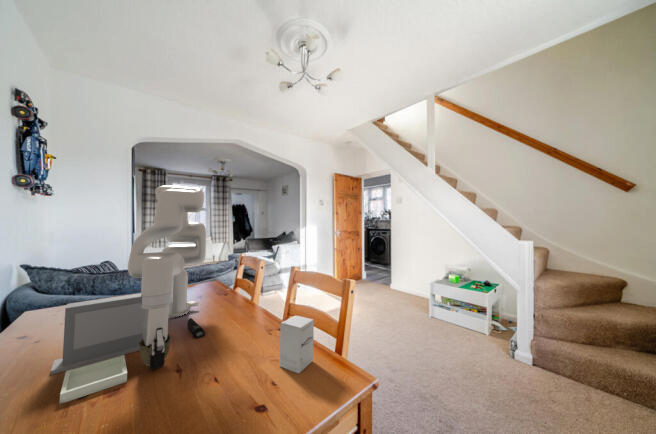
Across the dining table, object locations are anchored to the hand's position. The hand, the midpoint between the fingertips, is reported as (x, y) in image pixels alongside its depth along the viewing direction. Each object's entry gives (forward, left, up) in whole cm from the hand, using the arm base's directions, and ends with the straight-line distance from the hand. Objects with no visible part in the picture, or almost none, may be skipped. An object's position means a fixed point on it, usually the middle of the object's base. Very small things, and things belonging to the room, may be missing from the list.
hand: (154, 361), depth 68 cm
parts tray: (+12, -3, -1) cm, 12 cm away
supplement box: (-31, +26, -2) cm, 40 cm away
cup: (0, 0, -2) cm, 2 cm away
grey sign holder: (+9, -18, -1) cm, 20 cm away
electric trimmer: (-15, -18, -2) cm, 24 cm away
